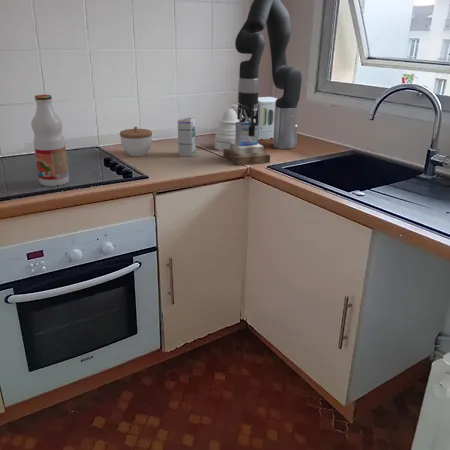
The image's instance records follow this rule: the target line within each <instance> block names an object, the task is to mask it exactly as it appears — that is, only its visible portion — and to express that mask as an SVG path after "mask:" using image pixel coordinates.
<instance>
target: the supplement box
mask: <svg viewBox="0 0 450 450" xmlns="http://www.w3.org/2000/svg"><path fill="white" fill-rule="evenodd" d="M277 99H279V97H278V98H277V97H273V96H258V103H257V104H255V105H254V109H258V123H259V125H258V141H261V140H260V139H263V140H271V139H270V138H273V137H274V120H275V102H276V100H277ZM255 121H256V119H255Z"/></svg>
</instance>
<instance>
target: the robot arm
mask: <svg viewBox="0 0 450 450" xmlns="http://www.w3.org/2000/svg"><path fill="white" fill-rule="evenodd" d="M290 19H291V18H290V14H289V11H288V9H287V7H286V6H285V5H284V4H283V2H282V1H281V0H253V1H252V3H251V5H250V8H249V11H248V15H247V18H246V21H245V22H244V23H243V26H242V27H241V29H240V30H239V31H238V33H237V35H236V38H235V43H234V46H235V47H234V48H235V50H236V51H237V52H238V53H239V54H245V55H247V54H248V55H251V56H250V58H249V59H248V60H243V61H241V62H240V63H239V73H238V74H239V75H238V76H239V77H238V86H237V87H238V91H237V92H238V93H237V94H238V95H237V100H238V101H237V102H238V104H237V105H238V108H237V119H238V120H239V122H245V121H248V124H249V136H250V137H251V136H254V135H255V126H256V125H258V109H254V105H255V104H257V103H258V97H259V89H260V88H259V87H260V86H259V83H260V82H259V71H260V64H261V61H262V60H261V59H262V56H263V53H264V50H265V47H266V41H265V38H264V37H265V36H264V35H263V34H261V33H260V32H261V31H264V29H265V28H266V31H267V37H268V42H269V50H270V51H269V52H270V57H271V74H272V77H271V78H272V82H273V85H274V86H275V87H276V88H277V89H278V90H282V91H283V93H282V96H281V97H280V98H279V97H278V99H277V100H276V102H275V120H274V137H273V139H272V147H273V148H276V149H279V150H280V149H281V150H291V149H294V148H296V147H297V139H298V138H297V137H298V127H299V126H298V125H297V124H296V123H297V114H298V113H297V112H298V103H299V101H300V96H301V89H302V83H303V82H302V80H303V77H302V72H301V70H300V69H299V68H298V67H292V66H288V63H287V48H288V45H289V43H290V39H291V36H292V28H291V20H290ZM255 119H256V122H255ZM250 121H251V122H250Z"/></svg>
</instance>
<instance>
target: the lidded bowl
mask: <svg viewBox="0 0 450 450" xmlns="http://www.w3.org/2000/svg"><path fill="white" fill-rule="evenodd" d="M119 135H120V143H121V147H122V149H123V151H124V152H126V153H127V154H128V156H130V157H143V156H147V153H148V152H149V151H150V150H151V147H152V143H153V131H152V130H150V129H147V128H146V129H145V128H138V126H134V127H133V128H128V129H124V130H121V131H120V132H119Z"/></svg>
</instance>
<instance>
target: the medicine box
mask: <svg viewBox="0 0 450 450" xmlns="http://www.w3.org/2000/svg"><path fill="white" fill-rule="evenodd" d="M250 122H251V121H250ZM255 122H256V121H255ZM258 125H259V123H258ZM258 125H256V126H255V135H254V136H251V137H250V136H249V124H248V121H245V122H236V130H235V144H237V145H239V146H247V145H256V144H259V142H258V141H259V140H258Z"/></svg>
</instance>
